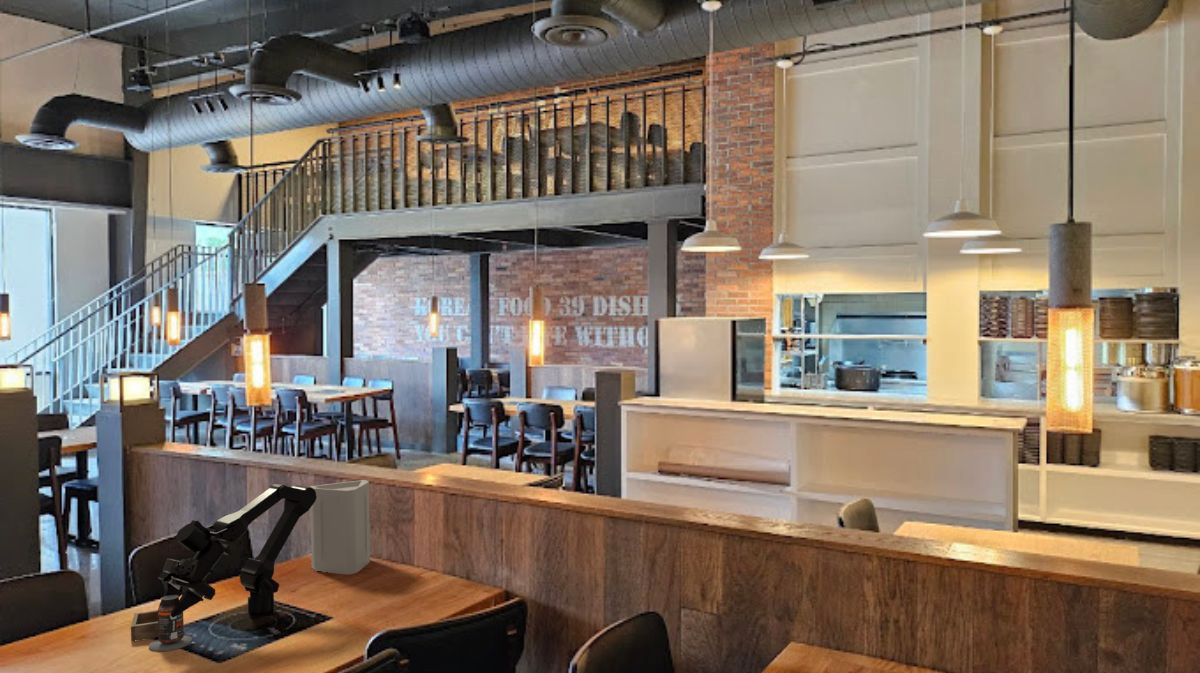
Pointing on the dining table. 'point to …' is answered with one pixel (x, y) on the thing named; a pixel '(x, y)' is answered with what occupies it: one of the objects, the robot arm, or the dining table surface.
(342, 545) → the grey rounded wastebasket
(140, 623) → the walnut box
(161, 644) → the rubber mat
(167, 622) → the supplement bottle
